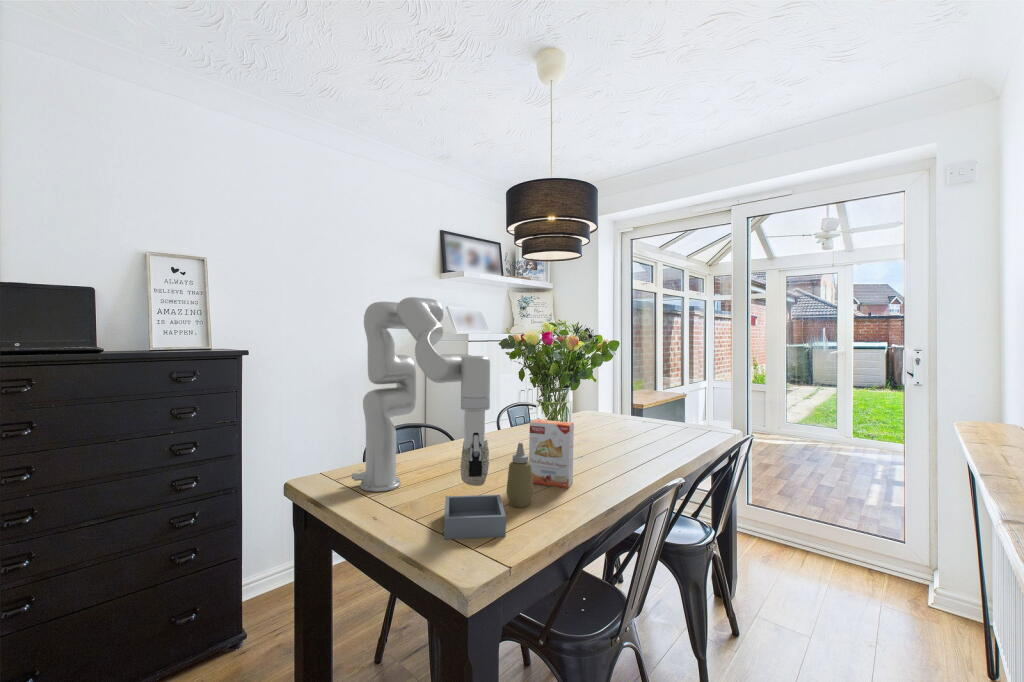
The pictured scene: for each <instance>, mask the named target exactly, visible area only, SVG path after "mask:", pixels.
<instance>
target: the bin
mask: <svg viewBox="0 0 1024 682" xmlns="http://www.w3.org/2000/svg"><path fill="white" fill-rule="evenodd" d="M443 518H444V519H443V520H444V523H443V529H444V530H443V540H455V539H456V540H457V539H463V540H464V539H478V538H479V539H482V538H483V539H484V538H503V537H505V538H506V535H507V531H506V529H507V527H506V525H507V523H506V522H507V516H506V512H505V508H504V504H503V501H502V496H501V495H500V494H479V495H478V494H477V495H476V494H475V495H451V496H450V495H449V496H445V504H444V517H443Z"/></svg>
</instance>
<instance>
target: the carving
mask: <svg viewBox="0 0 1024 682" xmlns="http://www.w3.org/2000/svg"><path fill="white" fill-rule="evenodd" d="M462 443H463V444H462V450H461V458H460V460H461V461H460V477H461V481H462V482H463V484H466V485H468V486H474V487H479V486H483V485H484V484H485V483H486V481H487V480H486V479H487V476H488V473H489V465H490V449H489V441H488V438H486V437H485V436H484V448H483V449H481V460H482V476H478V477H470V476H469V460H470V448H467V450H466V449H465V448H464V441H463V442H462ZM481 446H482V444H481ZM472 448H474V446H472ZM473 452H474V451H472V453H473Z"/></svg>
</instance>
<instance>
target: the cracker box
mask: <svg viewBox="0 0 1024 682" xmlns="http://www.w3.org/2000/svg"><path fill="white" fill-rule="evenodd" d="M574 425H575V423H574V422H570V421H560V420H559V421H558V420H550V419H549V420H548V419H537V418H535V419H532V420H531V421H530V422H529V437H528V438H529V440H528V441H529V443H528V444H529V446H528V447H529V449H528V452H529V453H528V462H529V463H530V464H531V469H532V481H533V484H538V485H543V486H551V487H555V488H556V487H557V488H562V489H570V487H571V486H572V484H573V481H574V479H573V478H574V477H573V475H574V435H575V434H574V432H575V431H574V429H575V427H574Z"/></svg>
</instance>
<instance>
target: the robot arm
mask: <svg viewBox="0 0 1024 682" xmlns="http://www.w3.org/2000/svg"><path fill="white" fill-rule="evenodd" d="M443 318H444V309H443V306H442V304H441V303H440V302H439V301H438V300H436V299H433V298H427V297H426V298H425V297H415V296H414V297H413V296H410V297H404V298H403V299H401V300H400V301H399V302H395V301H377V302H373V303H371V304H369V305H368V306H367V308H366V309H365V312H364V314H363V329H364V332H365V335H366V343H367V377H368V380H369V381H370V382H371V384H373V385H391V384H394V385H395V386H396V387H383V388H377V389H376V388H375V389H372V390H370V391H368V392H366V394H365V395H364V397H363V399H362V408H363V413H364V419H365V421H364V422H365V471H362V472H353V473H352V472H351V473H352V474H351V480H353V481H354V482H358V481H361V482H360V489H361V490H363V491H366V492H386V491H391V490H394V489H397V488H398V487H399V486H400V485H401V481H402V480H401V479H400V478H399V477H397V473H396V472H397V430H396V427H395V425H394V423H393V422H392V420H391V418H392V417H398V416H405V415H409V414H411V413H413V411H414V410H415V408H416V405H417V369H416V364H415V361H416V363H417V365H418V367H419V369H420V370H421V371H422V372H423V374H424V375H425V377H427V378H428V379H429V380H430V381H432V382H433V383H437V384H446V383H456V382H457V383H459V382H460V384H461V385H460V410H461V411H464V415H463V418H464V419H463V420H464V421H463V442H464V448H465V449H466V450H467V448H470V460H469V476H470V477H478V476H482V460H481V449H483V448H484V437H485V435H486V433H485V432H486V411H489V410H490V409H491V408H490V407H491V406H490V405H491V403H490V402H491V400H490V398H491V397H490V396H491V395H490V394H491V361H490V360H491V359H490V358H489V357H488V356H485V355H470V354H466V353H450V354H448V353H446V354H439V353H438V351H436V350H435V348H434V347H433V346H435V345H436V344H437V343H438V342H439V341H440V340H441V339H442V338H443V335H444V328H443V325H442V324H441V322H442V321H443ZM388 329H394V330H407V331H408V333H410V335H411V337H413V339H414V340H415V341H416V342H415V346H414V354H415V355H414V356H415V361H414V360H413V359H412V358H411V356H408V355H405V354H396V353H395V352H396V351H395V347H396V345H395V340H394V338H393V335H392V334H391V333H390V331H389V330H388ZM481 444H482V446H481ZM472 446H474V448H472ZM472 451H474V452H473V453H472Z"/></svg>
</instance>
